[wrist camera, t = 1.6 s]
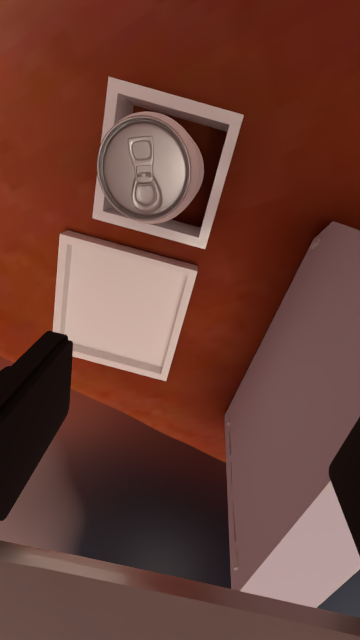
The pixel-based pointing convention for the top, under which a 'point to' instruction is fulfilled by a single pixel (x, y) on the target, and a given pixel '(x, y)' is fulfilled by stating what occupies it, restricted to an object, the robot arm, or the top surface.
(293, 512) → the game console
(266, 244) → the top surface
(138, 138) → the can
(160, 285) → the tray
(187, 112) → the white square frame
